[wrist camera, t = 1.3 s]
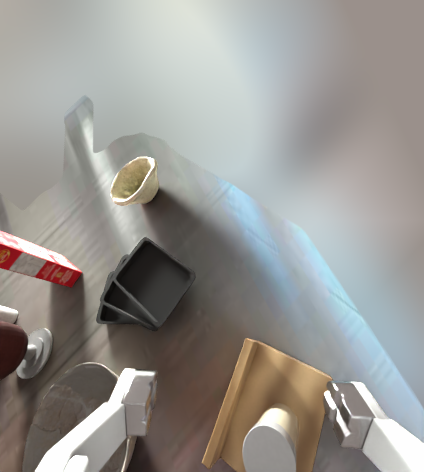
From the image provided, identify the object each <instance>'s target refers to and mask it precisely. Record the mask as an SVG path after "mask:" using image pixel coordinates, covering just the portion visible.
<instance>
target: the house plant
mask: <svg viewBox="0 0 424 472" xmlns="http://www.w3.org/2000/svg"><path fill="white" fill-rule="evenodd" d="M17 316H18V312H17V311H16V310H13V309H10V308H6V307H3V306H0V321H3V322H8V323H12V324H14V322H15V321H16V319H17Z"/></svg>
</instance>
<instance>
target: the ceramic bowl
mask: <svg viewBox="0 0 424 472" xmlns="http://www.w3.org/2000/svg"><path fill="white" fill-rule="evenodd" d="M119 378H120V377H119V376H118V375H116V374H115V373H114V372H113V371H111V370H110V369H108V368H107V367H106V366H104V365H101V364H98V363H89V362H88V363H82V364H79V365H77V366H74V367H72V368H71V369H69V370H68V371H66V372H65V373H64V374H63V375H62V376H61V377H60V378H59V379H58V380H57V381H56V382H55V383H54V384H53V386H52V387H51V388H50V389H49V391H48V392H47V393H46V394H45V396H44V398H43V399H42V401H41V403H40V405H39V408H38V410H37V411H36V413H35V415H34V418H33V421H32V425H31V426H30V429H29V432H28V436H27V440H26V444H25V450H24V457H23V466H22V472H35V471H36V469H37V467H38V466H39V464H40V462H41V461H42V459H43V458H44V456H45V454H46V453H47V452H48V451H49V450H50V449H51V448H52V447H53V446H55V445H56V444H57V443H58V442H59V441H60V440H62V439H63V438H64V437H65V436H66V435H67V434H69V433H70V432H71V431H72V430H73V429H74V428H76V427H77V426H78V425H79V424H80V423H81V422H83V421H84V420H85V419H86V418H87V417H89V416H90V415H91V414H92V413H93V412H94V411H96V410H97V409H98V408H99V407H100V406H101V405H103V404H104V403H108V402H109V400H110V397H111V395H112V393H113V391H114V389H115V387H116V385H117V383H118V380H119ZM136 437H137V436H126V438H125V440H124V441H123V442H122V443H121V445H120V446H119V447H118V448H117V450H116V451H115V452H114V453H113V455H112V456H111V457H110V458H109V459H108V461H107V462H106V463H105V464H104V466H103V467H102V468H101V469H100V471H99V472H126V470H127V467H128V465H129V462H130V460H131V457H132V454H133V451H134V447H135V442H136Z"/></svg>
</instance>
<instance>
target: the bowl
mask: <svg viewBox="0 0 424 472" xmlns="http://www.w3.org/2000/svg"><path fill="white" fill-rule="evenodd" d="M158 188H159V182H158V178H157V162H156V160H155V159H153V158H148V157H139V158H137V159H136V160H133V161H131V162H130V163H128V164H127V165H125V166H124V167H123V168H122V170H121V171H120V172H119V173H118V174H117V176H116V178H115V180H114V182H113V184H112V187H111V197H112V199H113V201H114V202H115V204H117V205H120V206H127V205H130V204H138V203H141V204H142V203H148V202H150V201H151V200H152V199H153V198H154V196H155V195H156V193H157V191H158Z"/></svg>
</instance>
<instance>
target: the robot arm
mask: <svg viewBox="0 0 424 472" xmlns="http://www.w3.org/2000/svg"><path fill="white" fill-rule="evenodd" d="M156 380H157V371H153V370H142V369H128V368H125V369H124V370H123V372H122V374H121V376H120V378H119V380H118V383H117V385H116V387H115V389H114V391H113V393H112V395H111V397H110V400H109V402H108V403H104V404H103V405H101V406H100V407H99V408H98V409H97V410H96V411H94V412H93V413H92V414H91V415H90V416H89V417H87V418H86V419H85V420H84V421H83V422H81V423H80V424H79V425H78V426H77V427H76V428H74V429H73V430H72V431H71V432H70V433H69V434H67V435H66V436H65V437H64V438H63V439H62V440H60V441H59V442H58V443H57V444H56V445H55V446H53V447H52V448H51V449H50V450H49V451H48V452H47V453H46V454H45V456H44V458H43V459H42V461H41V462H40V464H39V466H38V467H37V469H36V471H35V472H99V471H100V469H101V468H102V467H103V466H104V464H105V463H106V462H107V461H108V459H109V458H110V457H111V456H112V455H113V453H114V452H115V451H116V450H117V448H118V447H119V446H120V445H121V443H122V442H123V441H124V440H125V438H126V436H147V433H148V429H149V425H150V422H151V411H152V410H153V409H154V406H155V402H156V397H157V383H156ZM326 387H327V389H328V391H327V392H326V393H325V394H324V397H323V405H324V409H325V413H326V415H327V417H328V419H329V420H330V421H331V422H332V423H333V424H334V428H333V430H334V432H335V434H336V437H337V439H338V441H339V443H340V445H341V447H342V448H353V449H362V451H363V452H364V454H365V455H366V456H367V457H368V458H369V459H370V460H371V461H372V462H373V463H374V465H375V466H376V467H377V468H378V469H379V470H380V471H381V472H424V443H423V442H421V441H420V440H419V439H417V438H416V437H415V436H414V435H412V434H411V433H410V432H408V431H407V430H406V429H404V428H403V427H402V426H400V425H399V424H398V423H397V422H395V421H394V420H392V419H389V418H388V417H387V415H386V414H385V413H384V411H383V410H382V408H381V407H380V406H379V404H378V403H377V401H376V400H375V399H374V397H373V396H372V394H371V393H370V392H369V390H368V389H367V387H366V386H365V385H364V384H363V383H362V382H347V381H328V382H327V385H326Z"/></svg>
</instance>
